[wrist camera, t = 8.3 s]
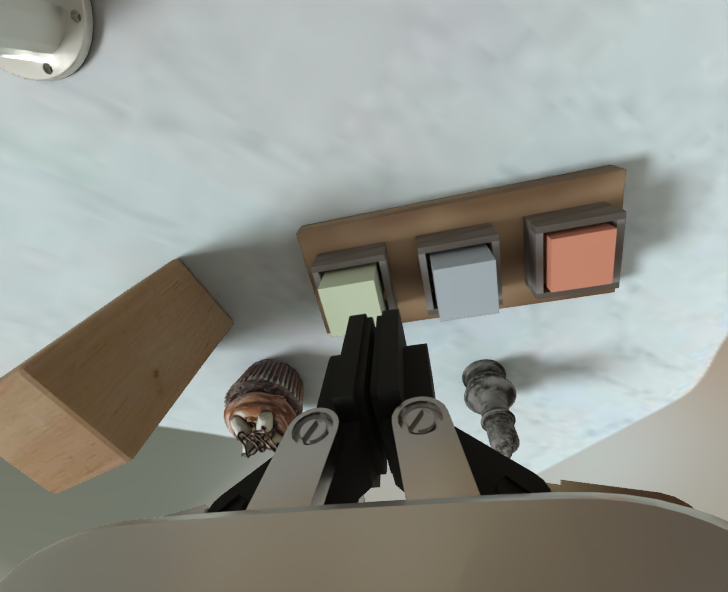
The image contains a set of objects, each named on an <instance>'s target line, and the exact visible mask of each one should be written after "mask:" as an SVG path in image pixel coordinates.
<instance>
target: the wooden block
mask: <svg viewBox="0 0 728 592" xmlns="http://www.w3.org/2000/svg"><path fill="white" fill-rule="evenodd" d="M232 324H233V322H232V320H231V319H230V318H229V316H228V315H227V314H226V313H225V312H224V311H223V310H222V308H221V307H220V306H219V305H218V304H217V303H216V301H215V300H214V299H213V298H212V297H211V296H210V294H209V293H208V292H207V291H206V290H205V289H204V287H203V286H202V285H201V284H200V283H199V282H198V281H197V279H196V278H195V277H194V276H193V275H192V274H191V272H190V271H189V270H188V269H187V268H186V267H185V265H184V264H183V263H182V262H181V261H180V260H179V259H175V260H172V261H171V262H169V263H168V264H166V265H165V266H163V267H162V268H160V269H159V270H157V271H156V272H154V273H153V274H151V275H150V276H148V277H147V278H145V279H144V280H142V281H141V282H139V283H138V284H136V285H135V286H133V287H132V288H130V289H129V290H127V291H126V292H124V293H123V294H121V295H120V296H118V297H117V298H115V299H114V300H112V301H111V302H110V303H108V304H107V305H105V306H104V307H102V308H101V309H99V310H98V311H97V312H95V313H94V314H92V315H91V316H89V317H88V318H86V319H85V320H84V321H82V322H81V323H79V324H78V325H76V326H75V327H73V328H72V329H71V330H69V331H68V332H66V333H65V334H63V335H62V336H61V337H59V338H58V339H56V340H55V341H53V342H52V343H50V344H49V345H48V346H46V347H45V348H43V349H42V350H40V351H39V352H37V353H36V354H35V355H33V356H32V357H30V358H29V359H27V360H26V361H24V362H23V363H22V364H20V365H19V366H17V367H16V368H14V369H13V370H12V371H10V372H9V373H7V374H6V375H4V376H3V377H1V378H0V456H1V457H2V458H4V459H5V460H6V461H8V462H9V463H10V464H12V465H13V466H15V467H16V468H17V469H19V470H20V471H22V472H23V473H24V474H26V475H27V476H29V477H30V478H32V479H33V480H34V481H36V482H37V483H38V484H40V485H41V486H43V487H44V488H46V489H47V490H48V491H50V492H51V493H55V494H58V493H60V492H62V491H64V490H66V489H69V488H71V487H73V486H75V485H77V484H80V483H82V482H84V481H86V480H88V479H91V478H93V477H95V476H97V475H100V474H102V473H104V472H106V471H108V470H110V469H113V468H115V467H117V466H119V465H122V464H124V463H126V462H128V461H130V460H131V459H133V458H134V457H135V455H136V454H137V453H138V451H139V450H140V449H141V447H142V446H143V445H144V443H145V442H146V441H147V439H148V438H149V436H150V435H151V434H152V432H153V431H154V430H155V428H156V427H157V426H158V424H159V423H160V422H161V420H162V419H163V418H164V416H165V415H166V414H167V412H168V411H169V410H170V408H171V407H172V406H173V404H174V403H175V401H176V400H177V399H178V397H179V396H180V395H181V393H182V392H183V391H184V389H185V388H186V387H187V385H188V384H189V383H190V381H191V380H192V379H193V377H194V376H195V375H196V373H197V372H198V370H199V369H200V368H201V366H202V365H203V364H204V362H205V361H206V360H207V358H208V357H209V356H210V354H211V353H212V352H213V350H214V349H215V348H216V346H217V345H218V343H219V342H220V341H221V339H222V338H223V337H224V335H225V334H226V333H227V331H228V330H229V329H230V327H231V326H232Z"/></svg>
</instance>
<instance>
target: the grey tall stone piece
mask: <svg viewBox="0 0 728 592" xmlns="http://www.w3.org/2000/svg"><path fill="white" fill-rule="evenodd" d="M462 380H463V383H464V385H465V387H466V391H465V394H464V400H465V403H466V405H467V406H468V408H469V409H470V410H472V411H473V412H475V413H478V414H481V415H482V418H481V426H482V428H483V429H484V430H485V431H487V435H488V438H489V442H490V445H491V447H492V449H494V450H496V451H498V452H499V453H501V454H503V455H505V456H506V457H508V458H510V457H511V456H512V453H514V452H515V451H516V450H517V449H518V447H519V438H518V435H517V432H516V430H515V427H514V424H515V416H514V414H513V413H512V412H510V411H509V408H510V407H511V406H512V405H513V403H514V402H515V399H516V390H515V387H514V386H513V384H512V383H511V382H509V381H508V380H507V379H506V372H505V370H504V368H503V367H502V365H501V364H499V363H498V362H495V361H492V360H479V361H476V362H473V363H472V364H470V365H469V366H468V367H467V368H466V369H465V370H464V372H463V375H462Z"/></svg>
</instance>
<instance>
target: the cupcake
mask: <svg viewBox="0 0 728 592" xmlns="http://www.w3.org/2000/svg"><path fill="white" fill-rule="evenodd" d="M225 399H226V400H225V401H224V403H225V404H226V405H225V407H226V408H225V411H224V420H225V424H226V426H227V428H228V430H229V431H230V433H231V434H232V435H233V436H234V437H236V438H237V440H238V441H240V442H241V443H242V444H243V454H242V455H241V456H245V457H247V458H249V457H252V456H253V455H254V454H255V453H256V452H257V451H259V452H261V453H263V452H265V450H266V449H267V450H272V451H273V452H276V450H277V448H278V446H279V444H280V442H281V440H282V438H283V436H284V434H285V432H286V430H287V428H288V426H289V425H290V423H291V422H292V421H293V420H294V419H295V418H296V417H297V416H298V415H300V414H302V411H303V409H302V408H303V404H302V401H303V382H302V380H301V379H300V376H299V374H298V373H297V371H296V370H295V369H294V368H292V367H290V366H289V365H288V364H286V363H283V362H280V361H276V360H263V361H258V362H255V363H254V364H253V365H252V366H250V367H249V368H248V369H247V370H246V371H245V373H244V374H243V375H242V376H241V377H240V378H239V379H238V380H237V381H236V382H235V383H234V384H233V385H232V386H231V388H230V389H229V390H228V392H227V394H226V397H225Z"/></svg>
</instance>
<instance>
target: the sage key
mask: <svg viewBox="0 0 728 592" xmlns="http://www.w3.org/2000/svg"><path fill="white" fill-rule="evenodd" d="M317 290H318V293H319V296H320V300H321V303H322V306H323V309H324V313H325V316H326V319H327V323H328V326H329V329H330V332H331V336H332V337H336V336H343V335H345V334H346V329H347V325H348V320H349V316H352V315H359V314H365V313H366V315H367V317H373V319H374V323H375V327H376V319H377V316H380V315H382V311H385V310H386V305H385V301H384V296H383V292H382V287H381V283H380V278H379V273H378V269H377V264H376V262H375V263H369V264H363V265H357V266H352V267H346V268H340V269H334V270H329V271H325V273H324V275H323V278H322V280H321V282H320V285H319V287H318V289H317Z"/></svg>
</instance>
